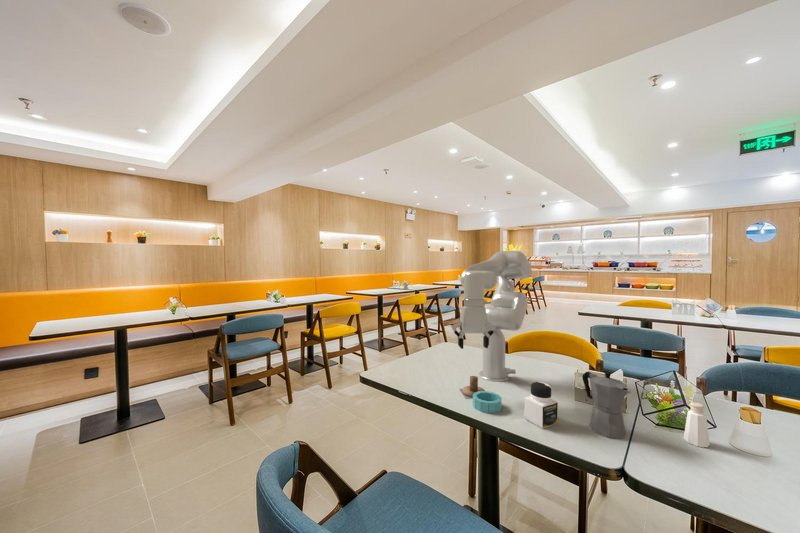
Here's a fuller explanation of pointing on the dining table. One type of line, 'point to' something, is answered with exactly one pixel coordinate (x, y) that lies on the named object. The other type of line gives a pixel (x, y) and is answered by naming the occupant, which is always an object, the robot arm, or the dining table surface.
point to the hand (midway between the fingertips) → (473, 347)
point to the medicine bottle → (541, 406)
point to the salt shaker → (696, 426)
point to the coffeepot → (606, 404)
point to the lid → (472, 387)
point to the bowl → (487, 402)
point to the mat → (464, 395)
